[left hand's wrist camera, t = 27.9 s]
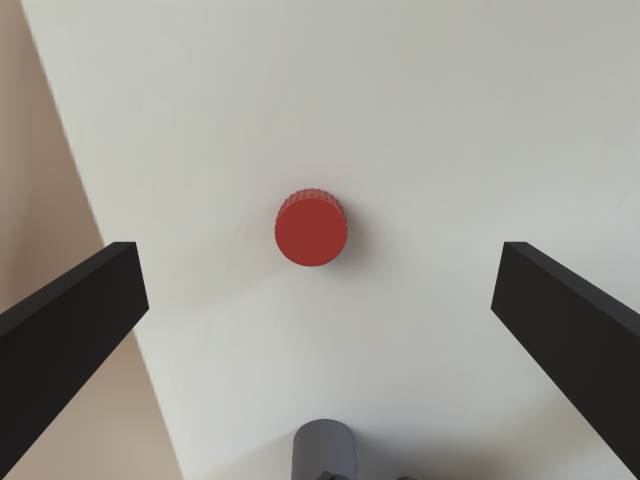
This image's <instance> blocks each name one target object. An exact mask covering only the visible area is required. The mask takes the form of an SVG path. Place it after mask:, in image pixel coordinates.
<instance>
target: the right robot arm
mask: <svg viewBox="0 0 640 480" xmlns="http://www.w3.org/2000/svg"><path fill="white" fill-rule="evenodd" d="M315 480H351V479H349V478H347V477H345V476H343V475H338V474H332V473H330V472H328V471H323V472H322V473H321V474H320V475H319V476H318V477H317V478H316V479H315ZM397 480H416V479H413V478H409V477H401V478H399V479H397Z"/></svg>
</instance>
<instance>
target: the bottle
mask: <svg viewBox="0 0 640 480" xmlns="http://www.w3.org/2000/svg"><path fill="white" fill-rule="evenodd" d="M323 471H328V472H330V473H332V474H338V475H343V476H345V477H347V478H349V479H351V480H359V478H358V470H357V462H356V454H355V446H354V439H353V435H352V433H351V431H350V430H349V429H348V428H347V427H346V426H345V425H343V424H341V423H339V422H337V421H334V420H326V419H322V420H315V421H312V422H309V423H307V424H305V425H304V426H302V427H301V428H300V429H299V430H298V431H297V433H296V435H295V437H294V442H293V458H292V474H291V480H315V479H316V478H317V477H318V476H319V475H320V474H321V473H322V472H323Z"/></svg>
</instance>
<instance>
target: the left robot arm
mask: <svg viewBox="0 0 640 480" xmlns="http://www.w3.org/2000/svg"><path fill="white" fill-rule="evenodd" d="M148 310H149V305H148V300H147V295H146V290H145V285H144V280H143V275H142V271H141V266H140V261H139V256H138V251H137V246H136V242H113V243H111V244H110V245H108V246H107V247H105V248H104V249H102V250H101V251H99V252H97V253H96V254H94V255H93V256H91V257H90V258H88V259H86V260H85V261H83V262H82V263H80V264H79V265H77V266H75V267H74V268H72V269H71V270H69V271H68V272H66V273H65V274H63V275H61V276H60V277H58V278H57V279H55V280H53V281H52V282H50V283H49V284H47V285H46V286H44V287H42V288H41V289H39V290H38V291H36V292H35V293H33V294H32V295H30V296H28V297H27V298H25V299H24V300H22V301H21V302H19V303H18V304H16V305H14V306H13V307H11V308H10V309H8V310H6V311H5V312H3V313H2V314H0V480H2V479H3V478H4V477H5V476H6V475H7V473H8V472H9V471H10V470H11V469H12V468H13V466H14V465H15V464H16V463H17V462H18V461H19V460H20V458H21V457H22V456H23V455H24V454H25V453H26V451H27V450H28V449H29V448H30V447H31V446H32V444H33V443H34V442H35V441H36V440H37V439H38V437H39V436H40V435H41V434H42V433H43V432H44V431H45V429H46V428H47V427H48V426H49V425H50V424H51V422H52V421H53V420H54V419H55V418H56V417H57V415H58V414H59V413H60V412H61V411H62V410H63V408H64V407H65V406H66V405H67V404H68V403H69V401H70V400H71V399H72V398H73V397H74V396H75V394H76V393H77V392H78V391H79V390H80V389H81V387H82V386H83V385H84V384H85V383H86V382H87V381H88V379H89V378H90V377H91V376H92V375H93V374H94V372H95V371H96V370H97V369H98V368H99V367H100V365H101V364H102V363H103V362H104V361H105V360H106V358H107V357H108V356H109V355H110V354H111V353H112V352H113V350H114V349H115V348H116V347H117V346H118V345H119V343H120V342H121V341H122V340H123V339H124V338H125V336H126V335H127V334H128V333H129V332H130V331H131V329H132V328H133V327H134V326H135V325H136V324H137V322H138V321H139V320H140V319H141V318H142V317H143V316H144V314H145V313H146V312H147V311H148ZM491 310H492V311H493V312H494V313H495V314H496V316H497V317H498V318H499V319H500V320H501V321H502V322H503V324H504V325H505V326H506V327H507V328H508V329H509V331H510V332H511V333H512V334H513V335H514V336H515V338H516V339H517V340H518V341H519V342H520V343H521V345H522V346H523V347H524V348H525V349H526V350H527V352H528V353H529V354H530V355H531V356H532V357H533V358H534V360H535V361H536V362H537V363H538V364H539V365H540V367H541V368H542V369H543V370H544V371H545V372H546V374H547V375H548V376H549V377H550V378H551V379H552V381H553V382H554V383H555V384H556V385H557V386H558V388H559V389H560V390H561V391H562V392H563V393H564V394H565V396H566V397H567V398H568V399H569V400H570V401H571V403H572V404H573V405H574V406H575V407H576V408H577V410H578V411H579V412H580V413H581V414H582V415H583V417H584V418H585V419H586V420H587V421H588V422H589V424H590V425H591V426H592V427H593V428H594V429H595V431H596V432H597V433H598V434H599V435H600V436H601V437H602V439H603V440H604V441H605V442H606V443H607V444H608V446H609V447H610V448H611V449H612V450H613V451H614V453H615V454H616V455H617V456H618V457H619V458H620V460H621V461H622V462H623V463H624V464H625V465H626V467H627V468H628V469H629V470H630V471H631V472H632V473H633V475H634V476H635V477H636V478H637V479H638V480H640V314H638V313H637V312H635V311H634V310H632V309H630V308H629V307H627V306H626V305H624V304H623V303H621V302H619V301H618V300H616V299H615V298H613V297H612V296H610V295H608V294H607V293H605V292H604V291H602V290H601V289H599V288H598V287H596V286H594V285H593V284H591V283H590V282H588V281H587V280H585V279H583V278H582V277H580V276H579V275H577V274H576V273H574V272H572V271H571V270H569V269H568V268H566V267H565V266H563V265H561V264H560V263H558V262H557V261H555V260H554V259H552V258H550V257H549V256H547V255H546V254H544V253H543V252H541V251H539V250H538V249H536V248H535V247H533V246H532V245H530V244H529V243H527V242H504V246H503V251H502V256H501V261H500V266H499V271H498V275H497V280H496V285H495V290H494V295H493V300H492V305H491Z"/></svg>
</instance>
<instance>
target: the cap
mask: <svg viewBox="0 0 640 480" xmlns="http://www.w3.org/2000/svg"><path fill="white" fill-rule="evenodd" d="M346 223H347V221H346V218H345V215H344V213H343V210H342V207H340V205H339V203H338V201H336V200H335V199H334V198H333V196H331V195H329V194H328V193H327V192H324V191H321V190H320V189H319V190H317V189H313V188H311V189H304V190H301V191H297V192H296V193H295V194H293V195H292V194H291V196H290V197H289V198H288V199H286V200H285V203H284V204H283V205H282V206H281V208H280V211H279V213H278V216H277V219H276V225H275V238H276V242H277V245H278V247H279V249H280V250H281V252H282V253H283V254H284V255H285V256H286V257H287V258H288V259H289V260H291V261H292V262H294V263H297V264H299V265H302V266H311V267H312V266H320V265H323V264H326V263H328V262H330V261H331V260H333V259H334V258H335V257H337V256H338V255H339V253H340V252H341V251H342V249H343V247H344V245H345V243H346V239H347V231H348V229H347V226H346Z"/></svg>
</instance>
